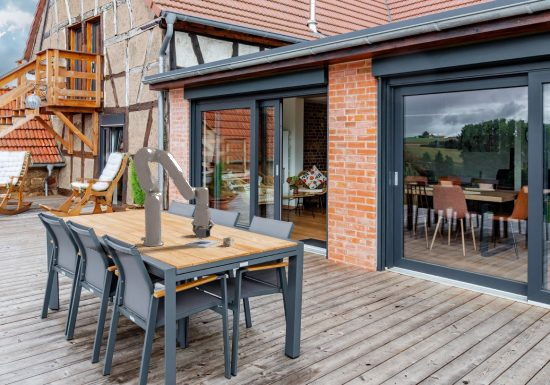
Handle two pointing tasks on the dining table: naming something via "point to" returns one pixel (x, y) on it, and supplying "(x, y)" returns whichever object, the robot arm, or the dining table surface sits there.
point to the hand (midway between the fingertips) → (203, 235)
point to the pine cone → (199, 227)
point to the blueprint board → (202, 243)
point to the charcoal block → (201, 233)
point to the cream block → (228, 241)
